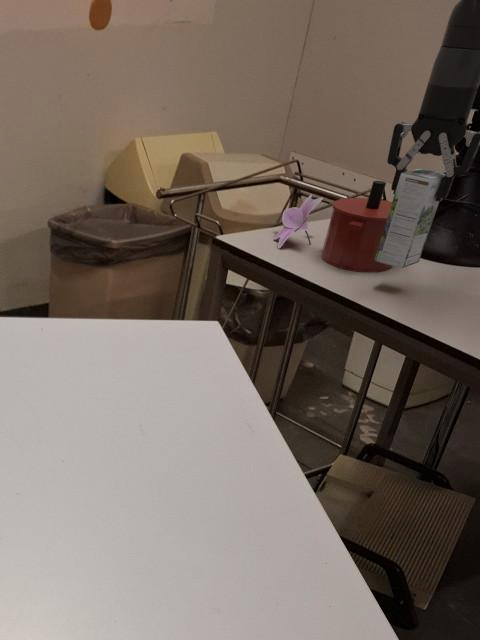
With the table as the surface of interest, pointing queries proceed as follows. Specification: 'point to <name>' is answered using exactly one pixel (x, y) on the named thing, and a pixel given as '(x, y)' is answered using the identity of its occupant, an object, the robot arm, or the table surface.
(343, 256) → the pot
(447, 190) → the robot arm
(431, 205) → the syrup box
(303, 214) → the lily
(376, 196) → the pot lid
